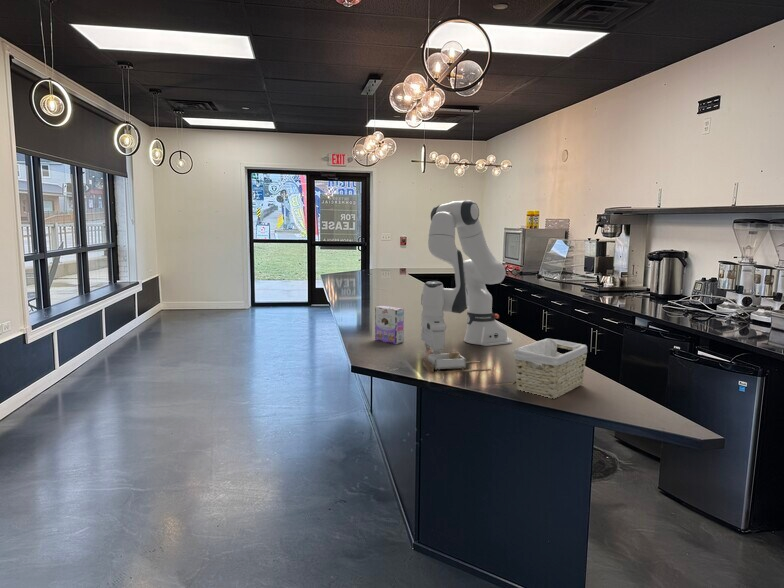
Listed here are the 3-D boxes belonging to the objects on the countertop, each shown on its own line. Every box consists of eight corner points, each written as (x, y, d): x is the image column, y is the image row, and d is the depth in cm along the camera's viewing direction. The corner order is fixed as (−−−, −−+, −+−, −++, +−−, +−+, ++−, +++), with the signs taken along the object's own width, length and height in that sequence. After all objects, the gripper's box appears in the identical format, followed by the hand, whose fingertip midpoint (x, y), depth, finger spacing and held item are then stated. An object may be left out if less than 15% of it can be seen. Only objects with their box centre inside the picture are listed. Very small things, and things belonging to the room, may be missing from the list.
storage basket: (554, 402, 164) (557, 357, 162) (510, 390, 176) (512, 348, 174) (587, 385, 181) (589, 344, 179) (544, 375, 193) (546, 337, 190)
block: (435, 361, 210) (435, 349, 210) (438, 364, 207) (439, 352, 206) (426, 362, 209) (426, 350, 209) (429, 364, 206) (429, 352, 205)
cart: (457, 364, 202) (457, 352, 202) (465, 370, 194) (465, 358, 193) (427, 365, 200) (428, 354, 199) (434, 372, 191) (435, 360, 190)
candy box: (404, 342, 242) (404, 308, 240) (395, 345, 238) (396, 309, 236) (383, 338, 251) (383, 304, 249) (374, 340, 247) (374, 306, 245)
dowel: (456, 361, 199) (457, 351, 199) (460, 364, 196) (460, 353, 195) (447, 361, 198) (447, 351, 198) (450, 364, 195) (451, 354, 194)
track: (479, 364, 207) (480, 354, 206) (493, 373, 194) (493, 363, 194) (421, 367, 201) (422, 357, 201) (431, 377, 189) (432, 366, 188)
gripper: (417, 317, 215) (417, 350, 217) (432, 327, 195) (431, 363, 197) (432, 317, 216) (431, 349, 218) (447, 327, 197) (446, 362, 198)
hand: (431, 356), depth 208 cm, fingers open, 8 cm apart
